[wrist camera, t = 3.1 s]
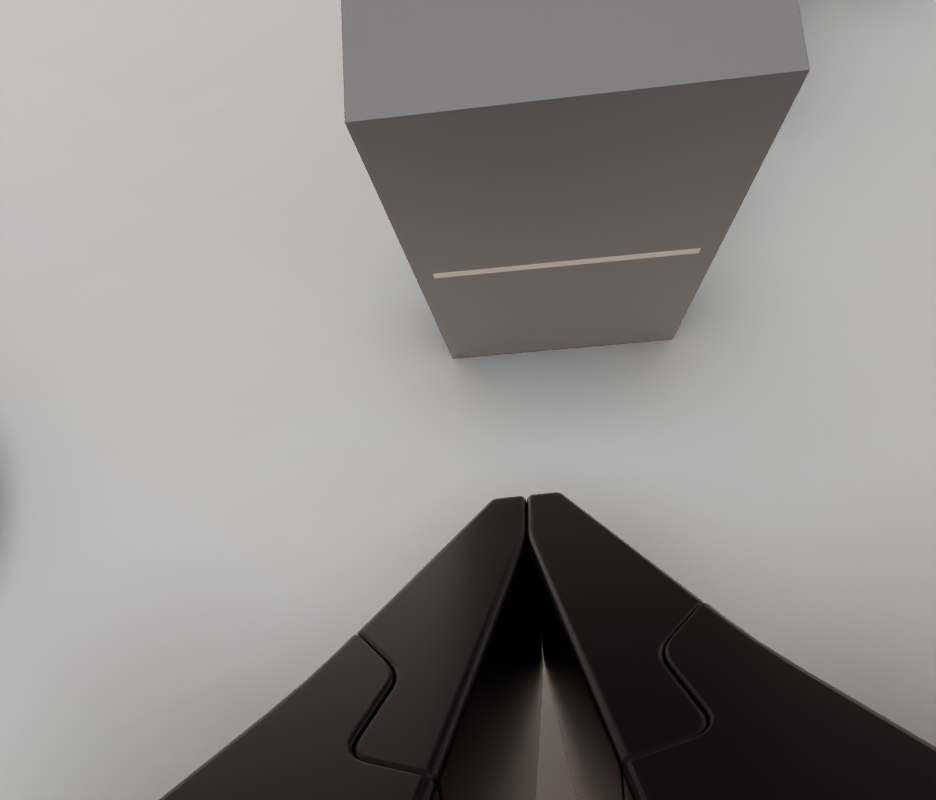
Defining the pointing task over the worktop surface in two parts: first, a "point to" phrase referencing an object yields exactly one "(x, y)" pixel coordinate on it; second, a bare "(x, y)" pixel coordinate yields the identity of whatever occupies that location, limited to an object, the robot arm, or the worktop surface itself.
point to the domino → (565, 153)
